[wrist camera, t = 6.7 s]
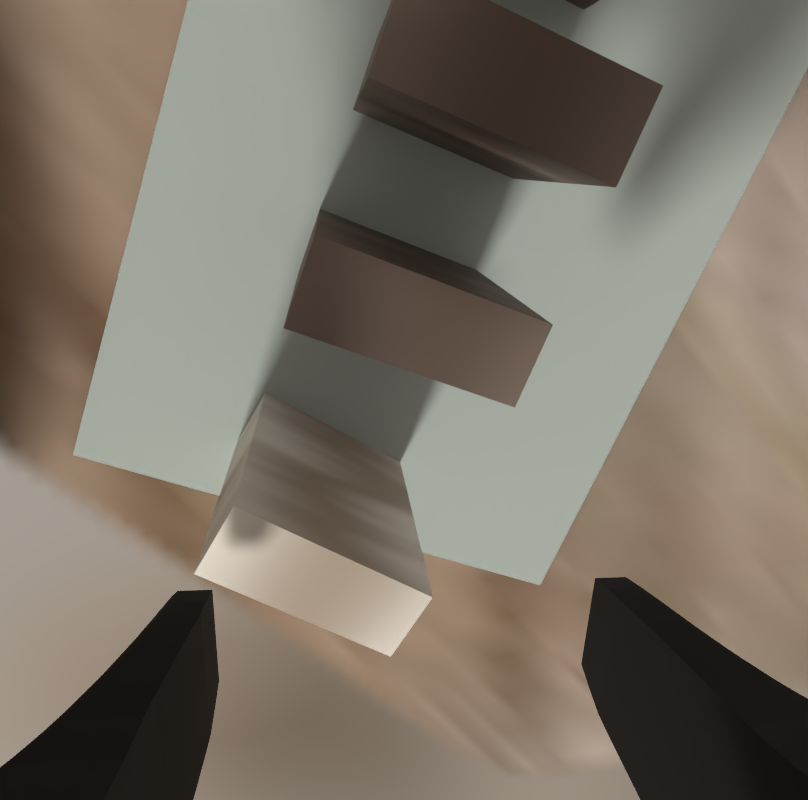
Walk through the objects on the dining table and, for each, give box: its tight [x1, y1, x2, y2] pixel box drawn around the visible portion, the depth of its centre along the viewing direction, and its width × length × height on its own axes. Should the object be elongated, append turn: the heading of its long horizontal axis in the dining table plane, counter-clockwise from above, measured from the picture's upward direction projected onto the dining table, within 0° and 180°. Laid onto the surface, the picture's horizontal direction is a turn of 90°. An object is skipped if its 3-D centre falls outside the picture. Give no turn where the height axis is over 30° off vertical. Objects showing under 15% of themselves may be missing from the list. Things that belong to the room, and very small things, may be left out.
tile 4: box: [284, 209, 553, 407], centre depth 16 cm, size 5×2×7 cm, turn 69°
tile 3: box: [353, 0, 663, 187], centre depth 14 cm, size 5×2×7 cm, turn 69°
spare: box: [194, 393, 433, 657], centre depth 17 cm, size 5×2×7 cm, turn 58°
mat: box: [73, 0, 808, 585], centre depth 18 cm, size 16×26×1 cm, turn 159°
